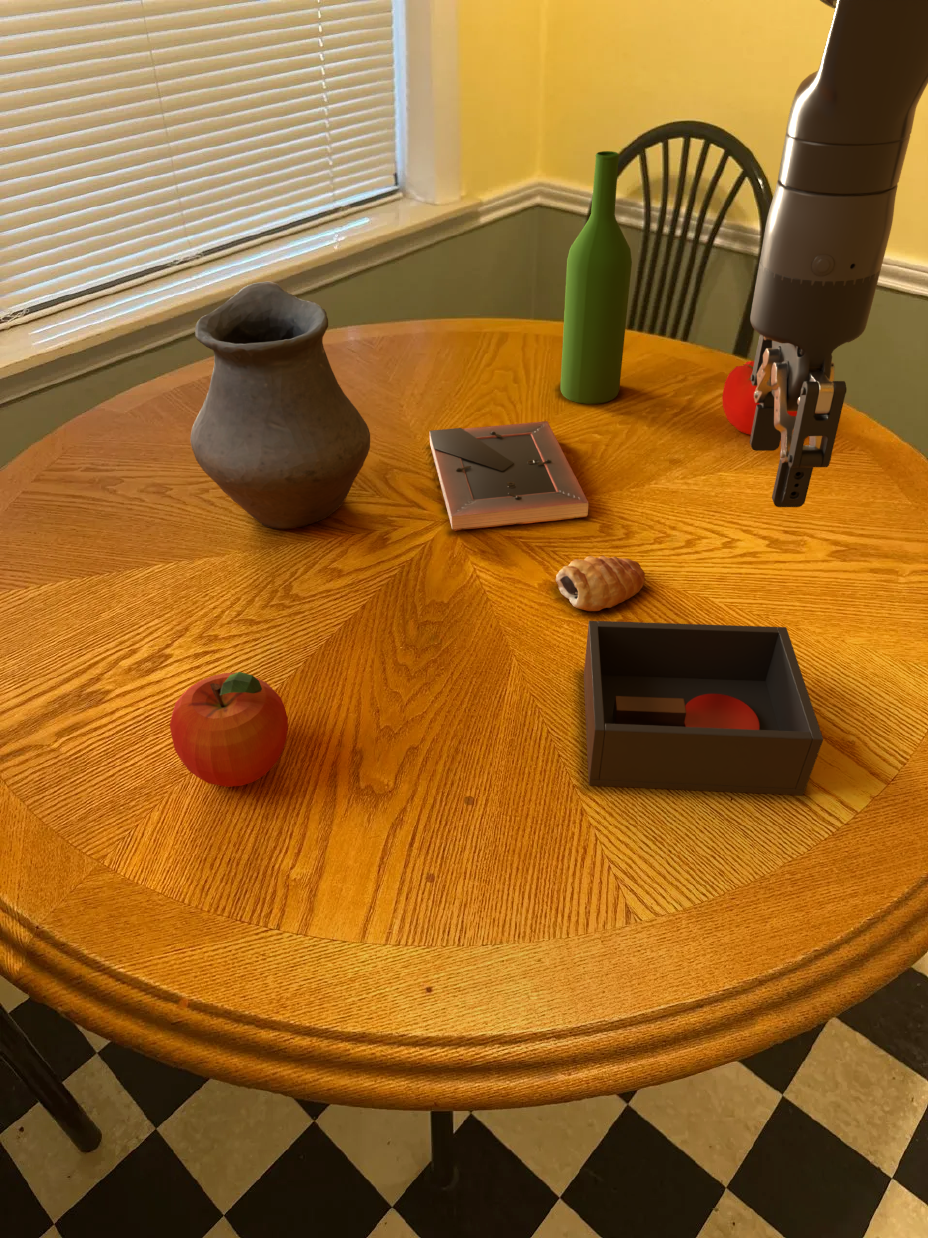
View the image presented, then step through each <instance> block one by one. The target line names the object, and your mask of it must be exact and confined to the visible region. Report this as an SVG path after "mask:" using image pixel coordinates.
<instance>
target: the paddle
mask: <svg viewBox="0 0 928 1238" xmlns="http://www.w3.org/2000/svg"><path fill="white" fill-rule="evenodd" d="M613 723H614V724H629V725H653V726H677V727H701V728H725V729H749V730H759V729H760V724H759V720H758V718H757V716H756V714H755V713H754V711H753V710H752V709H751V708H750V707H749V706H748V705H746V704H745V703H744V702H742V701H740V700H738V699H736V698H734V697H731V696H727V695H722V694H704V695H700V696H697V697H695V698H693V699H692V700H690V701H689V702H688V703H687V704H686V705H685V702H684V699H683V698H656V697H630V696H615V702H614V709H613Z"/></svg>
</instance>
